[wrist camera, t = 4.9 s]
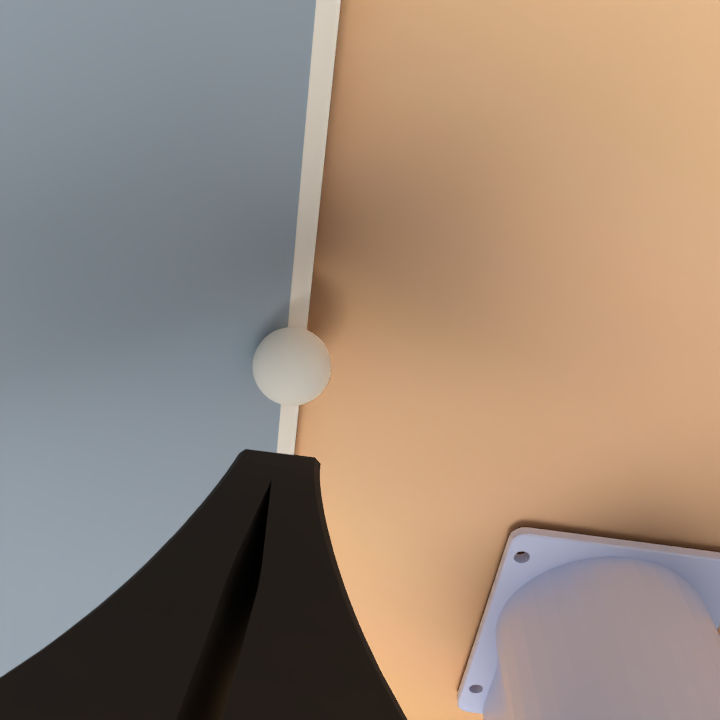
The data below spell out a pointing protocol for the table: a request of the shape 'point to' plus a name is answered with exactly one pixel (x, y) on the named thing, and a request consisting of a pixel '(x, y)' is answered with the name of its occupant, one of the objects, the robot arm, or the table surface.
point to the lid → (147, 276)
